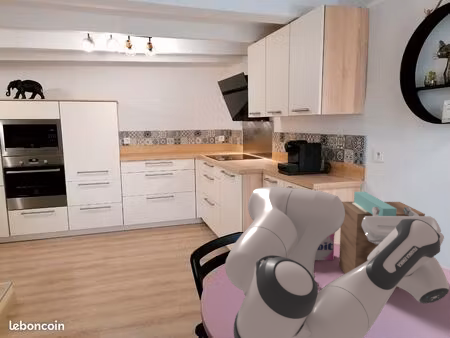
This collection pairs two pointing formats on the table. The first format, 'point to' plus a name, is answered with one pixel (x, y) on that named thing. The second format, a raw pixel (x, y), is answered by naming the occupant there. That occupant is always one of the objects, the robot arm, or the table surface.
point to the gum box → (326, 249)
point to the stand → (359, 235)
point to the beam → (373, 204)
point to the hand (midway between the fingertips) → (390, 208)
